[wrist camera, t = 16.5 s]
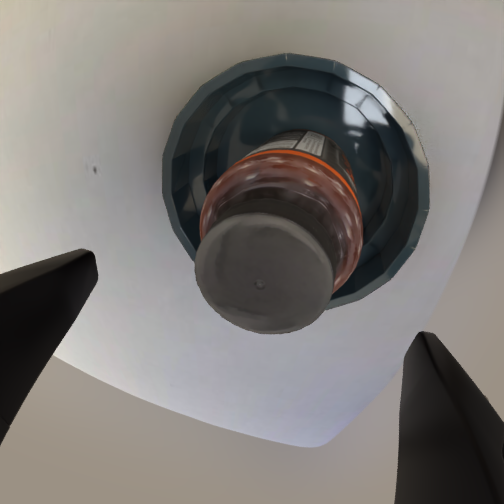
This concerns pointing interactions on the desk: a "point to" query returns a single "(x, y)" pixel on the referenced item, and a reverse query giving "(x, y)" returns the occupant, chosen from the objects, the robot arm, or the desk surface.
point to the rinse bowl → (315, 119)
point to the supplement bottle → (280, 233)
